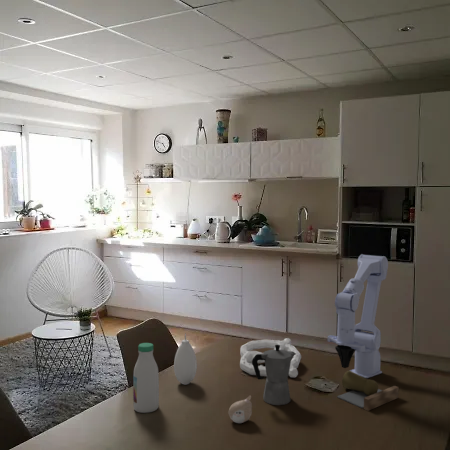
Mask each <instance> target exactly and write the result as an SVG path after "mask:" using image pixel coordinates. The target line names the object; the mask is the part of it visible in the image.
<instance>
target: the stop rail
mask: <svg viewBox="0 0 450 450" xmlns="http://www.w3.org/2000/svg"><path fill="white" fill-rule="evenodd" d="M381 390H382V389H381ZM399 390H400V389H399V386H396V385H393V386H391V387H388V388H385V389H383V390H382V391H380V392H377V393H375V394H372V395H370V396H368V397H365V398H364V408H363V409H364V410H365V411H368V412H369V411H371V410H373V409H375V408H377V407H380V406H383V405H385V404H386V403H387V404H388V403H389V402H392V401H394V400H397V399H398V398H399Z"/></svg>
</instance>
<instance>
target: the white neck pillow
mask: <svg viewBox="0 0 450 450" xmlns="http://www.w3.org/2000/svg"><path fill="white" fill-rule="evenodd" d="M275 345H280V348H279V350H284V351H292V352H294V353H296V354H295V355H294V357H293V358H292V360H291V363H290V369H289V375H288V377H290V378H293V379H294V378H297V377H298V375H299V371H298V369H297V368H299V364H300V362H301V359H302V355H301V353H300V351H299V350H298V349H297V348H296V347H295V346H294V345H292V339H290V338H289V337H287V338H286V337H285V338H284V339H283V340H280V339H277V340H276V339H274V340H273V339H272V338H271V339H267V338H266V339H264V338H262V339H256V340H254V339H253V340H251V341H247V343H245V344H243V345H240V348H239V350H240V361H239V368H240V369H241V370H242V371H243V372H246V373H247V374H249V375H250V376H251V375H252V376H256V373H255V370H254V367H253V364H252V360H253V358H254V357H255V355H257V354H263V353H264V352H261V351H257V350H259V349H260V350H261V349H272V350H276V348H275ZM257 363H258V364H260V365H258V368H259V370H260V376H264V377H267V375H266V367H265V366H264V365H263V364H261V363H264V364H265V360H258V361H257Z"/></svg>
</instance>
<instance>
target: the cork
mask: <svg viewBox="0 0 450 450" xmlns="http://www.w3.org/2000/svg"><path fill="white" fill-rule="evenodd" d="M341 383H342V387H343V388H344V389H348V390H350V391H352V390H356V391H360V392H365V394H366V395H368V396H370V395H372V394H375V393H377V391H378V389H379V384H378V383H377V381H375V380H374V379H368V378H364V377H362V376H359V375H357V374H355V373H353V372H352V371H350V370H347V371H345V372H344V374H343V376H342V380H341Z"/></svg>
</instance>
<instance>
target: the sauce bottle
mask: <svg viewBox="0 0 450 450" xmlns="http://www.w3.org/2000/svg"><path fill="white" fill-rule="evenodd" d="M173 361H174V363H173V372H174V375H175V379H176V380H177V381H178V382H179V383H180V384H181V385H183V386H184V385H189V384H190V383H191V382H193V380H194V378H195V377H196V374H197V367H198V365H197V364H198V363H197V361H198V360H197V356H196V352H195V349H194V348H193V346H192V345H191V343H190V340H188V339H187V334H186V333H185V334H184V339H182V340H181V343H180V345H179V346H178V348H177V350H176V352H175V355H174V360H173Z"/></svg>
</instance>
